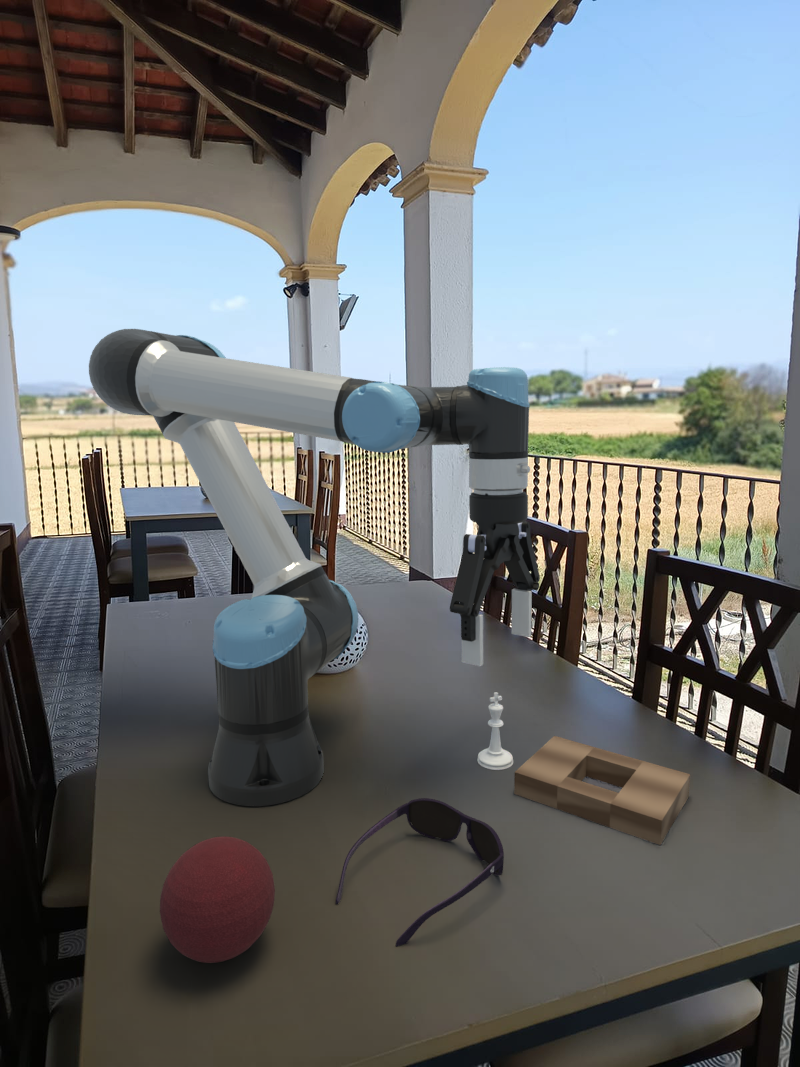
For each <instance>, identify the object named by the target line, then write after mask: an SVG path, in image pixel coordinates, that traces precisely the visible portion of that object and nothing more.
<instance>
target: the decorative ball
mask: <svg viewBox="0 0 800 1067" xmlns="http://www.w3.org/2000/svg"><path fill="white" fill-rule="evenodd" d="M274 881H275V880H274V874H273V872H272V869H271V867H270V865H269V863H268V860H267V859H266V857H264V855H263V854H262V853H261V851H260V850H259V849H257V847H255V846H254V845H252V844H251V843H249V842H248V841H246V840H243V839H241V838H238V837H232V836H216V837H214V836H213V837H210V838H206V839H204V840H202V841H200V842H197V843H196V844H194V845H193V846H192V847H190V848H188V849H187V850H185V851H184V852H183V853H182V854H181V855H180V856H179V858H178V859H177V860H176V861H175V862H174V864H173V865H172V866H171V868H170V869H169V872H168V873H167V875H166V877H165V880H164V883H163V885H162V888H161V892H160V900H159V915H160V920H161V924H162V929H163V932H164V934H165V935H166V937H167V939H168V940H169V942H170V944H171V945H172V946H173V947H174V949H176V950H177V951H178V952H179V953H180V954H182V955H183V956H185V957H186V958H188V959H191V960H193V961H196V962H199V963H205V964H206V963H207V964H212V963H213V964H214V963H220V962H225V961H228V960H231V959H234V958H236V957H237V956H239V955H240V956H241V954H243V953H244V952H246V951H247V950H249V948H251V947H252V946H253V944H255V943H256V941H257V940H259V938H260V936H262V934H263V932H264V931H265V929H266V927H267V926H268V923H269V921H270V919H271V917H272V913H273V910H274V904H275V897H276V888H275V887H276V886H275V882H274Z"/></svg>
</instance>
